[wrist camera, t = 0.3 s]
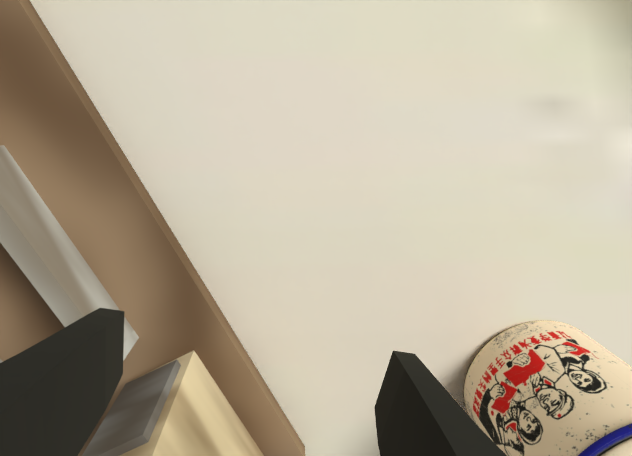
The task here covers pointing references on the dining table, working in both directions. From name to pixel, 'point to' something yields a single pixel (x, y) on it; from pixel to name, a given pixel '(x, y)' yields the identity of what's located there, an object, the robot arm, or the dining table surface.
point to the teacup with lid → (551, 393)
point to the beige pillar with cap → (172, 416)
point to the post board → (100, 238)
